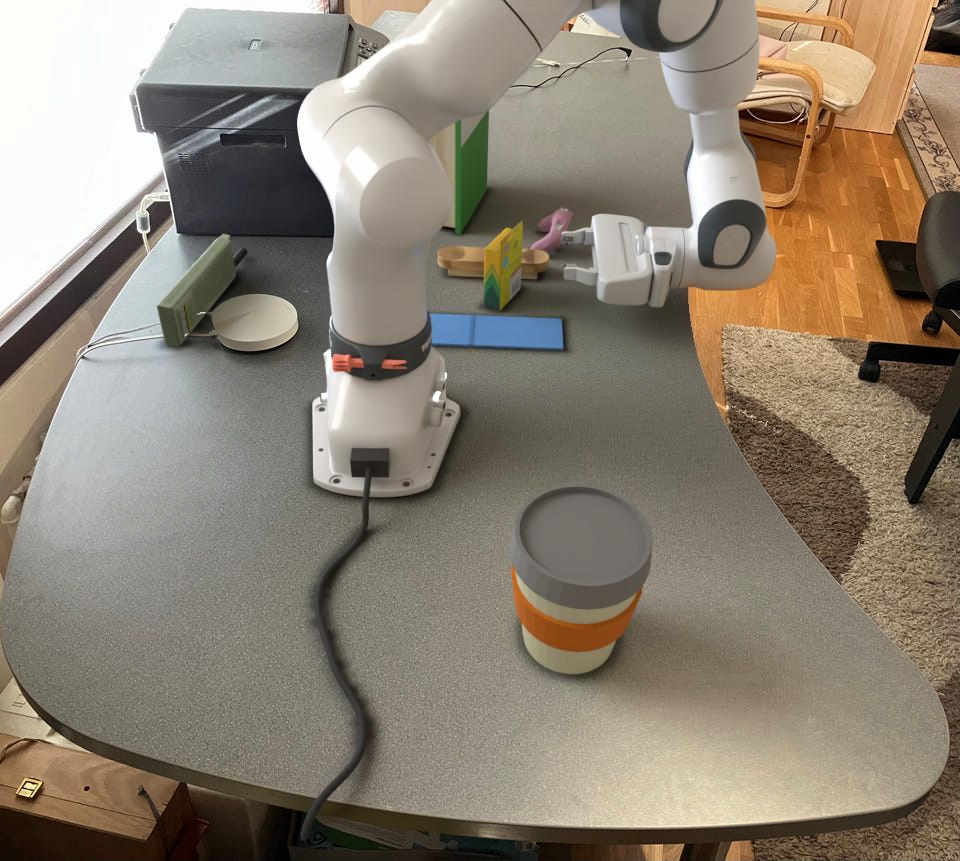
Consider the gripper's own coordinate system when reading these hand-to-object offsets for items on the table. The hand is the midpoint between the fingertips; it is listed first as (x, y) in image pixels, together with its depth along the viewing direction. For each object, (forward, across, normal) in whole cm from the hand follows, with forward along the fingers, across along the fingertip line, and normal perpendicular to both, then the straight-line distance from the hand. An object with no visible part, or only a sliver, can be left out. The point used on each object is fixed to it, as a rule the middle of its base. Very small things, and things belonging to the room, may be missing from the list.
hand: (562, 254), depth 127 cm
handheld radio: (+52, +4, +8) cm, 53 cm away
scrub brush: (+10, -8, +8) cm, 15 cm away
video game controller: (+1, -17, +8) cm, 19 cm away
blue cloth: (+10, +9, +8) cm, 16 cm away
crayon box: (+9, 0, +8) cm, 12 cm away
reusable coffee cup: (+1, +61, +8) cm, 62 cm away
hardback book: (+18, -29, +8) cm, 35 cm away
